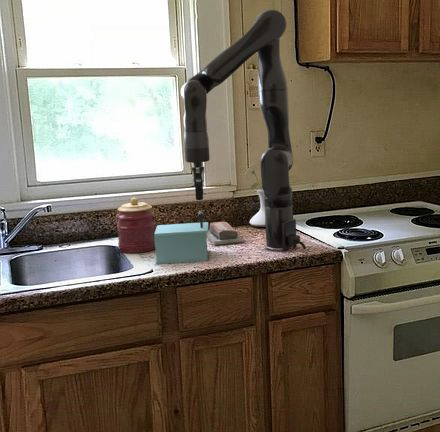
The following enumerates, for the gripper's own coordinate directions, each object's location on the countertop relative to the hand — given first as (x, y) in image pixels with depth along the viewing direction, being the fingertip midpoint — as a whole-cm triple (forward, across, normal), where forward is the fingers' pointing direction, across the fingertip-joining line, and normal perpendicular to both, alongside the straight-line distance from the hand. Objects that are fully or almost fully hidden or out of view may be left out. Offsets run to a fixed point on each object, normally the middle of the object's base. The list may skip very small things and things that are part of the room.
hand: (199, 197), depth 201 cm
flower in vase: (+19, +39, -22) cm, 49 cm away
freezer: (+19, 0, +6) cm, 20 cm away
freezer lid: (+10, 0, +6) cm, 12 cm away
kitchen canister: (+19, +15, +22) cm, 33 cm away
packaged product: (+19, +22, -7) cm, 30 cm away
